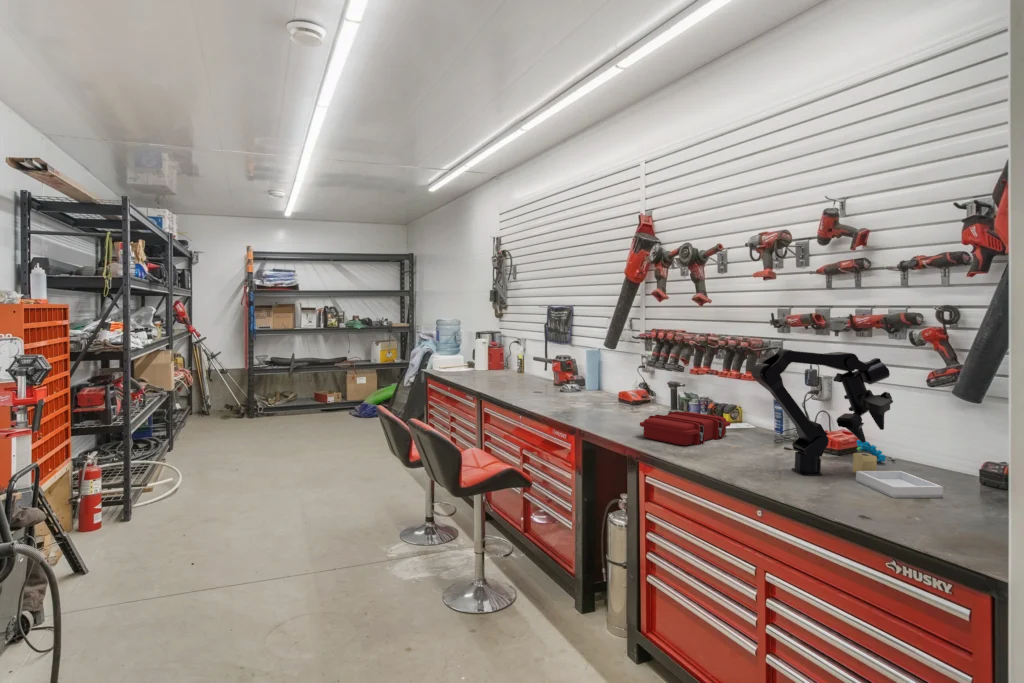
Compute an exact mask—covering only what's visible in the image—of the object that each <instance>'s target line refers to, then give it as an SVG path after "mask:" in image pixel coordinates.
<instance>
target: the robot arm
mask: <svg viewBox="0 0 1024 683" xmlns="http://www.w3.org/2000/svg"><path fill="white" fill-rule="evenodd" d="M792 363H794V364H804V365H805V364H806V365H807V364H808V365H814V366H815V365H816V366H817V365H818V366H825V367H827V368H831V369H835V370H838V371H845V372H844V373H840V372H837V373H836V375H835V376H834V377H833V382H837V383H841V384H842V387H843V389H844V392H845V395H844V396H843V398H844V400H848V402H849V405H850V407H848V411H849V412H853V413H843V414H842V415H840V416H839V417H837V418H836V423H837V426H838V427H840V428H845V429H847V431H849V432H850V433H851V434H853V435H854V437H855V438H857V440H859V441H861V442H866V436H865V433H864V430H863V426H864V424H865V422H863V418H862V416H864V415H865V414H866V413H869V414H870V416H871V418H872V419H873V421H874V423H875V424H876V426H877V427H878V429H879V430H881V431H883V430H884V429H885V414H886V412H888V411H890V410H891V404H893V403H894V399H893V397H892V395H891V393H890V392H889V391H888V392H887V391H884V392H882V393H881V394H873V392H872V391H871V389H867V387H866V384H868V385H872V384H875V383H878V382H880V381H883V380H886V379H887V378H889V377H890V375H891V374H890V370H889V368H888V367H887V366H886V365H885V364H884V363H883V361H881V358H877V357H874V358H873V359H870V360H869V361H867V362H863V361H862V360H859V357H858V356H857V354H855V353H853V352H846V351H832V352H831V351H830V352H825V353H819V352H809V351H808V352H807V351H800V350H799V351H798V350H792V349H787V348H783V349H780V350H778V351H777V352H776V353H775V354H774V355H771V356H769V357H768V358H766V359H764V360H763V361H762V362H761V363H756V364H755V365H754V366H753V367H752V369H751V377H752V378H753V379H754V380H755V381H756V382H757V383H758V384H759V385H760V386H762V387H763V388H764V389H765V390H767V391H768V392H769V393H770V394H771V396H773V397H772V398H774V399H775V401H776V402H777V403H778V405H779V406H780V408H781V409H782V410H783V411H784V413H785V414H786V416H787V417H788V418H789V420H790V422H792V423H793V425H794V427H795V430H796V435H797V439H795V440H794V441H793V442H792V443H791V446H792V449H793V450H794V452H795V453H794V467H792V468H791V470H792V471H794V472H795V473H797V474H800V475H802V476H823V473H822V472H821V470H822V468H821V467H822V458H821V457H823V454H824V453H825V449H826V448H827V447H828V446H829V437H828V436H829V433H827V432H826V431H825V430H824V428H823V425H822V424H820V423H818V422H816V421H813V420H809V418H808V416H806V414H805V413H804V411H803V410H802V408H801V407H800V406H799V405H798V403H797V402H796V400H794V398H793V396H792V395H791V394H790V393H789V391H788V390H787V389H786V387H785V385H784V382H783V377H782V375H781V374H783V373H784V372H785V371H786V369H787V368H788V366H789V365H790V364H792Z"/></svg>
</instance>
